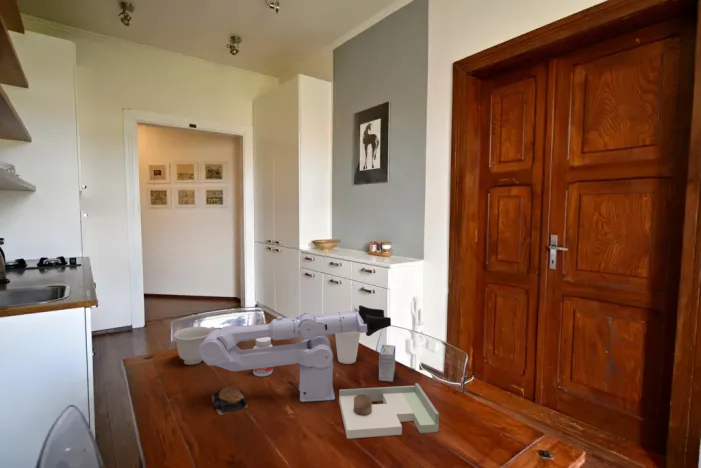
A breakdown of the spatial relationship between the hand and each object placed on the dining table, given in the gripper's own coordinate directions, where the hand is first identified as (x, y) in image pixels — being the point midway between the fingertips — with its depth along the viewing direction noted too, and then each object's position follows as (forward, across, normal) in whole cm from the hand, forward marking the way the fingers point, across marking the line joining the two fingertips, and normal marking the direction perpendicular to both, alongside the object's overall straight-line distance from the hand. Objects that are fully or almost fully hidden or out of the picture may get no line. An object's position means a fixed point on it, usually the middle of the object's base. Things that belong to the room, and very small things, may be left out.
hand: (387, 317), depth 103 cm
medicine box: (+1, +9, +22) cm, 24 cm away
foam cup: (-10, +22, +21) cm, 32 cm away
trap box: (-5, -13, +21) cm, 26 cm away
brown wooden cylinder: (-11, -13, +19) cm, 25 cm away
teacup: (-61, +27, +17) cm, 69 cm away
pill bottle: (-38, +15, +19) cm, 45 cm away
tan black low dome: (-45, -1, +19) cm, 49 cm away
